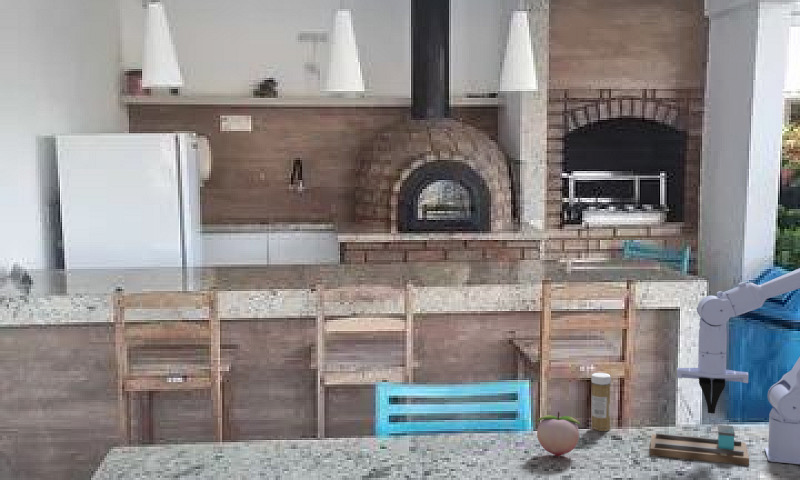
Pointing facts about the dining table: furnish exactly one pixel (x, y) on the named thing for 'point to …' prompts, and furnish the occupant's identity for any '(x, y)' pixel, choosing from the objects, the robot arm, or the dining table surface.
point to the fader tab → (726, 437)
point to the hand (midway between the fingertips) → (711, 412)
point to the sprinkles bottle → (601, 401)
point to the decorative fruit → (558, 434)
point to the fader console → (697, 449)
